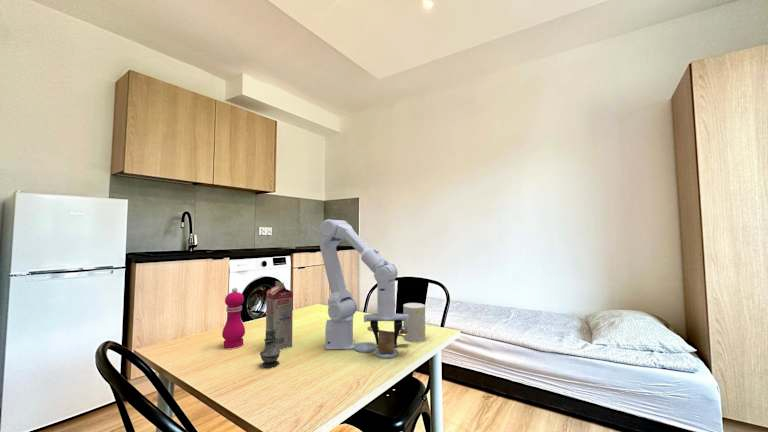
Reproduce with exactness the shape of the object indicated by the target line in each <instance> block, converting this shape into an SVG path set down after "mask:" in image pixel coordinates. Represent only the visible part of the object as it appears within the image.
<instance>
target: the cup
mask: <svg viewBox="0 0 768 432" xmlns="http://www.w3.org/2000/svg"><path fill="white" fill-rule="evenodd" d="M402 306H403V307H402V308H403V309H402V310H403V313H402V314H408V316H409V322H405V321H402V326H406V327H407V332H409V336H404V337H403V339H404V340H405V341H407V342H410V343H411V342H413V343H419V342H423V341H425V340H426V305H425V304H423V303H421V302H420V303H419V302H407V303H404V304H403V305H402Z"/></svg>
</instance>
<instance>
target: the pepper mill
mask: <svg viewBox="0 0 768 432" xmlns="http://www.w3.org/2000/svg"><path fill="white" fill-rule="evenodd" d="M224 299H225V300H224V304H225V305H226V310H225V311H226V312H227V318H226V321H225V324H224V327H223V328H222V332H221V333H222V335H221V336H222V338H223V339H224V340H223V344H222V345H223V346H224V347H226V348H234V347H238V346H241V345H242V346H243V345H244V338H243V337H244V336H245V334H246V328H245V325H244V323H243V320H242V317H241V316H242V315H241V313H242V310H243V305H242V304H243V303H244V301H245V297H244V295H243V293H242V292H238V288H237V287H233V288H232V289H231V292H230V293H228V294H226V296H225V298H224ZM242 346H241V347H242ZM224 347H223V348H224ZM226 348H225V349H226ZM238 348H239V347H238ZM234 349H235V348H234Z"/></svg>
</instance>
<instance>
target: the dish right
mask: <svg viewBox="0 0 768 432" xmlns="http://www.w3.org/2000/svg"><path fill="white" fill-rule="evenodd" d="M398 354H399V351H398V348H394V353H378V348H376V350H375V351H374V356H375V357H376V358H379V359H393V358H396V357H397V356H398Z"/></svg>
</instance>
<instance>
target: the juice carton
mask: <svg viewBox="0 0 768 432" xmlns="http://www.w3.org/2000/svg"><path fill="white" fill-rule="evenodd" d="M293 293H294V292H293V291H292V290H290V289H287V288H286V287H285V283H284V282H280V281H275V285H274V286H273V287H271V288H270V289H268V290H267V291H266V305H265V307H266V309H265V310H266V312H265V314H266V315H265V316H266V317H265V318H266V319H265V330H266V329H267V328H268V327H270V324H272V327H274V328H275V329H276V333H275V338H277V340H276V349H281V350H284V349H283V348H285V349H288V348H291V347H293V315H294V314H293V311H294V310H293V303H294V301H293V299H294V298H293V296H294V294H293ZM287 347H288V348H287Z"/></svg>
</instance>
